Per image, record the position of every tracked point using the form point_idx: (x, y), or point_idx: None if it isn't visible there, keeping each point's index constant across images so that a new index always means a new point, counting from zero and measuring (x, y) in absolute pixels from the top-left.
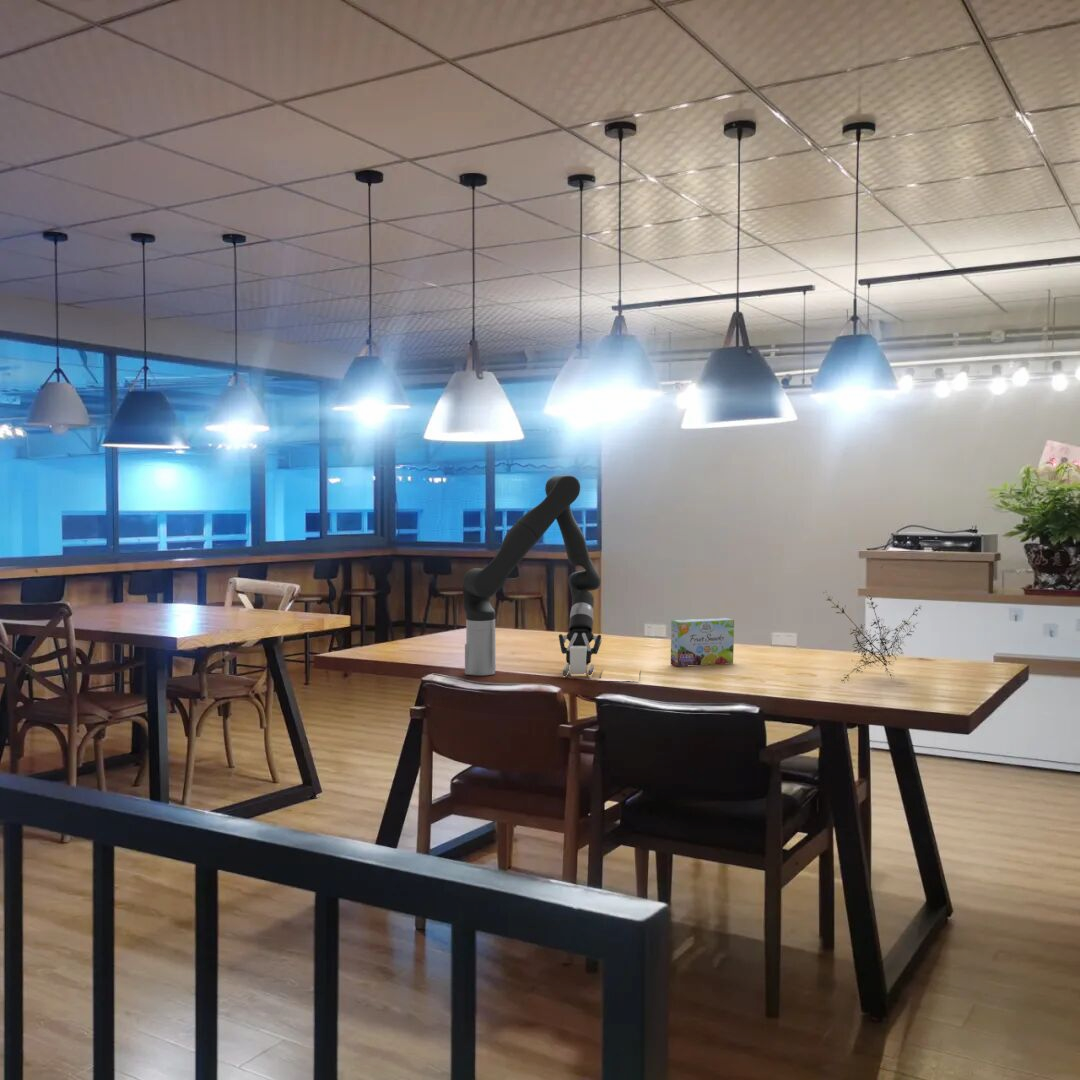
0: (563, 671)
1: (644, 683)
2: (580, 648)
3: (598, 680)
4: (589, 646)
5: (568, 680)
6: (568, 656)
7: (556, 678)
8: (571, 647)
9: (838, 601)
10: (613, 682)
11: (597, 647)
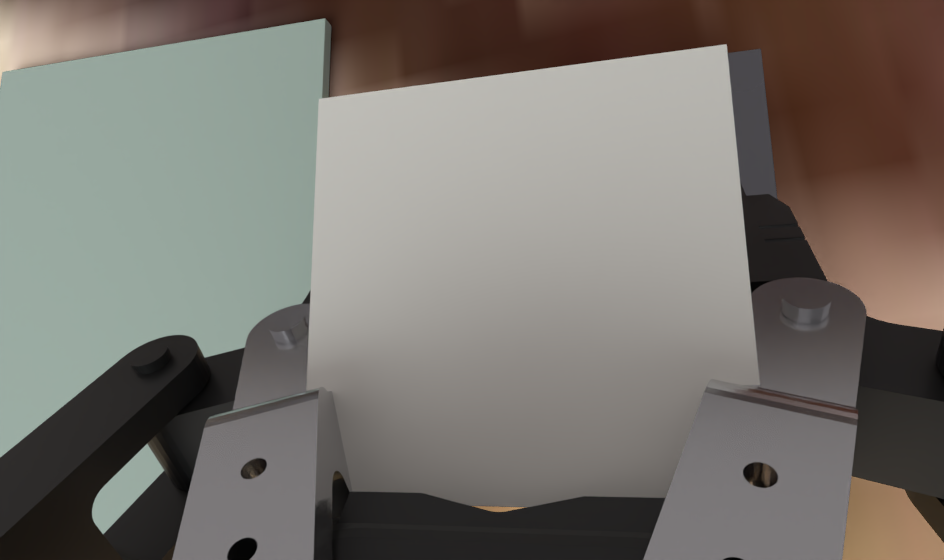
0: (750, 56)
1: None
2: (448, 89)
3: (337, 84)
4: (249, 393)
5: (651, 6)
6: (746, 205)
7: (830, 93)
8: (693, 113)
9: None
10: (205, 20)
11: (96, 404)
